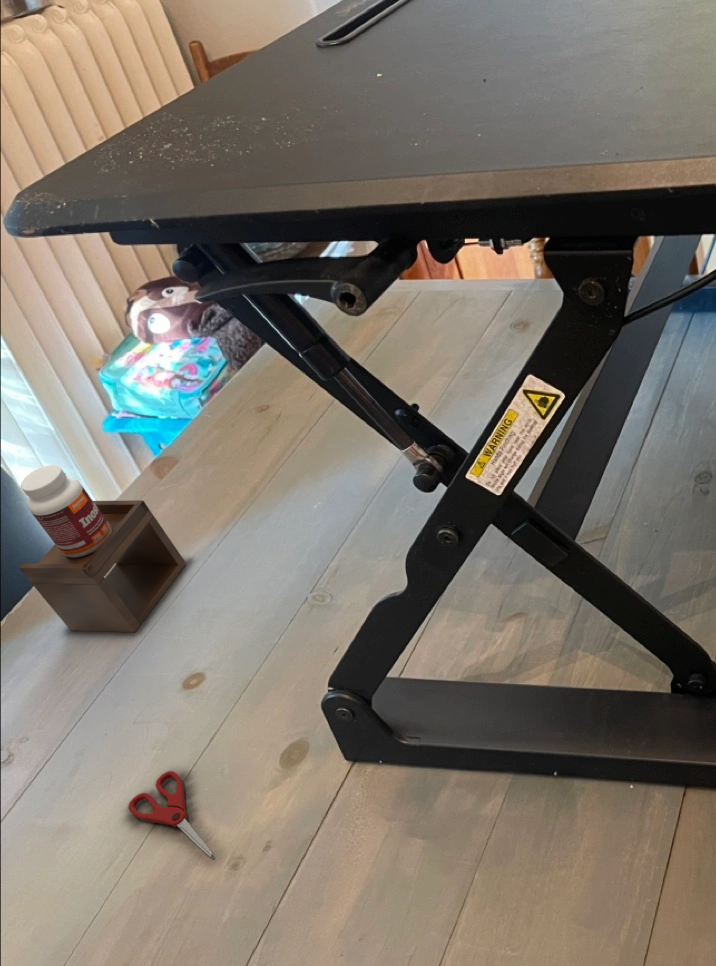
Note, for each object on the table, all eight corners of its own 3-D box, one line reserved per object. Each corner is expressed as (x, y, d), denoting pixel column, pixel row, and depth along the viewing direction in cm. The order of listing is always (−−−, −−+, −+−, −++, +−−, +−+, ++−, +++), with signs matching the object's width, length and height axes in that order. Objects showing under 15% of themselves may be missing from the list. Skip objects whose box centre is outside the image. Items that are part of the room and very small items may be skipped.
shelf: (70, 630, 137) (18, 567, 130) (124, 562, 146) (79, 500, 139) (135, 632, 135) (86, 568, 128) (186, 563, 144) (143, 500, 137)
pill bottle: (109, 550, 132) (61, 485, 126) (58, 565, 132) (7, 501, 125) (117, 519, 137) (71, 454, 131) (69, 533, 137) (20, 469, 130)
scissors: (174, 771, 116) (169, 766, 116) (237, 837, 108) (232, 832, 108) (128, 809, 113) (123, 804, 113) (189, 879, 105) (185, 874, 105)
